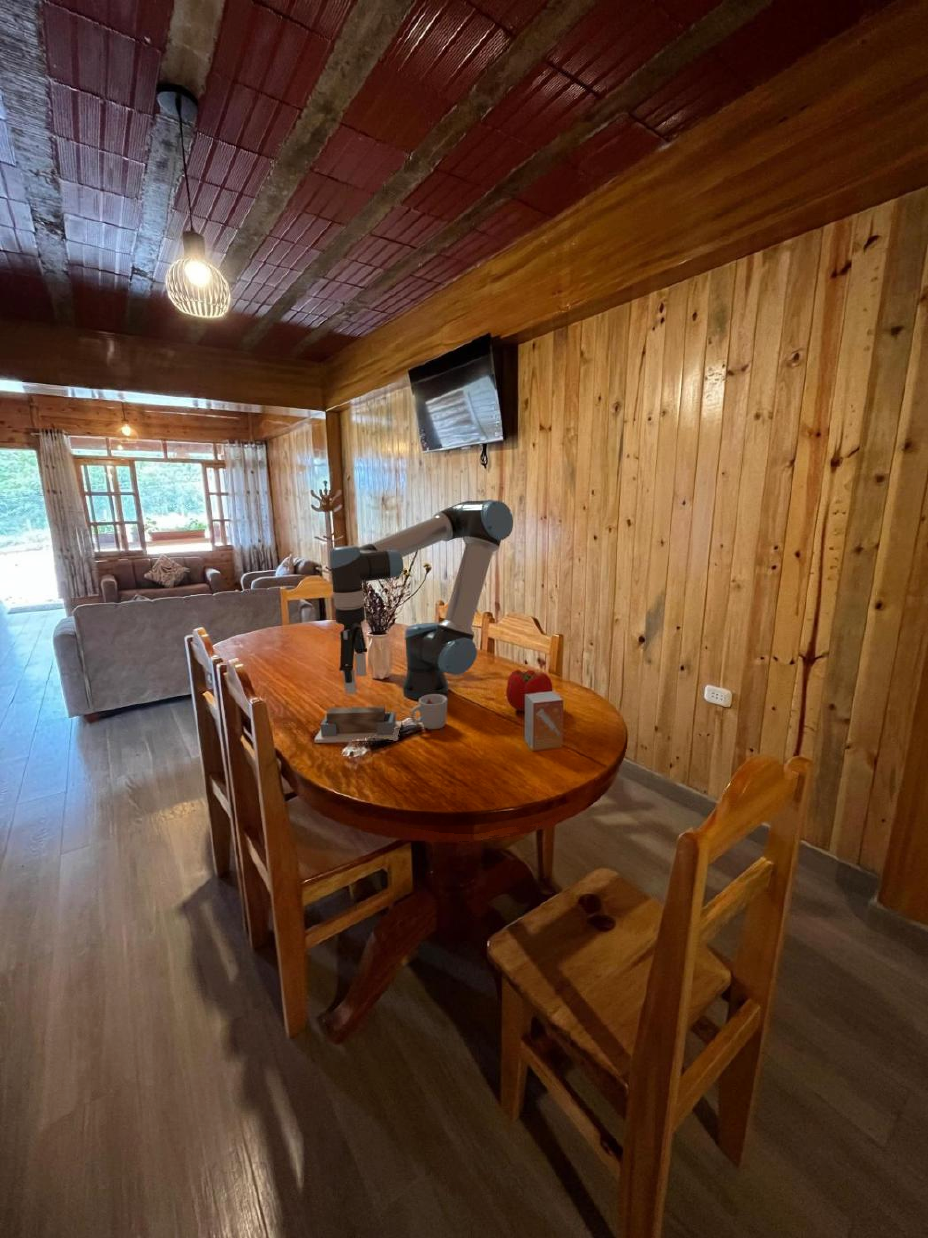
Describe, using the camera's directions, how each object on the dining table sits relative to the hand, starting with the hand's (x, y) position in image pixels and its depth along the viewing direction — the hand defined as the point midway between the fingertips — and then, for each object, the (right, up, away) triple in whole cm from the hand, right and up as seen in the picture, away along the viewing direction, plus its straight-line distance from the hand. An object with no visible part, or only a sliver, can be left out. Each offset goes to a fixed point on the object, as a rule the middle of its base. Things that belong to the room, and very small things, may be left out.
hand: (356, 684), depth 135 cm
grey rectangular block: (0, -13, +3) cm, 13 cm away
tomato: (+48, -10, +17) cm, 52 cm away
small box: (+49, -15, -6) cm, 52 cm away
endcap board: (0, -14, +3) cm, 14 cm away
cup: (+19, -13, +6) cm, 24 cm away
